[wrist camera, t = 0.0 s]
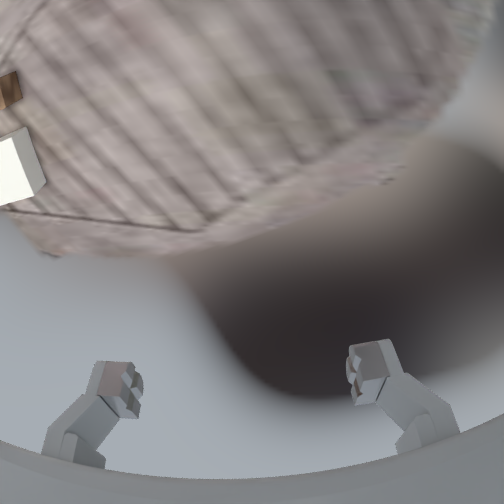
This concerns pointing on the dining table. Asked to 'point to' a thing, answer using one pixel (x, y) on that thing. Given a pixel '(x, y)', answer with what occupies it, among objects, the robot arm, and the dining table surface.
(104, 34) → the dining table surface
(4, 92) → the walnut cube
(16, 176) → the base block
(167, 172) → the dining table surface
